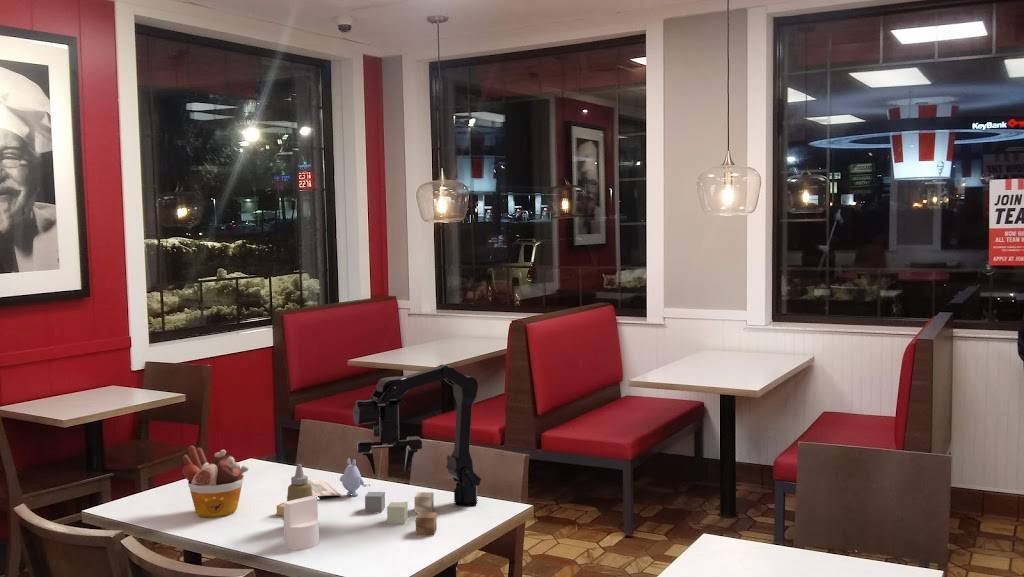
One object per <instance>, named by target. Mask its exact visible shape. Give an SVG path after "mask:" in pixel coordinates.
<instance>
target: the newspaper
mask: <svg viewBox="0 0 1024 577" xmlns="http://www.w3.org/2000/svg"><path fill="white" fill-rule="evenodd" d="M325 481H326V480H324V479H317V480H314V479H313V480H312V479H311V480H309V479H308V483H309V484H310V485H311V488H312V496H319V497H331V496H332V497H340V496H342V497H343V495H342V494H341V493H340V492H338V491H337V490H336V489H335V488H334V487H333V486H332V485H331V484H330V483H329V482H328V483H329V484H330V485H331V486H332V487H333V488H332V487H331V486H330V485H329V484H328V483H326V482H325ZM317 501H319V500H318V499H317Z"/></svg>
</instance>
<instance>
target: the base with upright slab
mask: <svg viewBox="0 0 1024 577" xmlns="http://www.w3.org/2000/svg"><path fill="white" fill-rule="evenodd" d="M283 503H284V516H283V541H284V542H283V544H284V545H283V546H284V548H286V549H288V550H293V551H294V550H295V551H299V550H307V549H312V548H315V547H316V546H318V545H319V540H320V538H319V516H318V515H319V512H318V507H319V506H318V500H317V497H315V496H309V497H304V498H300V499H295V500H291V501H287V500H286V501H284V502H283Z"/></svg>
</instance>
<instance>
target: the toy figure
mask: <svg viewBox="0 0 1024 577" xmlns="http://www.w3.org/2000/svg"><path fill="white" fill-rule="evenodd" d="M356 461H357V460H356V459H354V458H353V459H352V461H351V458H350V457H349V458H347V459H346V463H347V466H346V468H345V470H344V472H343V474H342V475H340V478H339V482H341V483H342V486H343V488H344V489H345V490H346V491H347V492H346V495H348V496H353V497H358V496H359V493H358V492H356V491H357V490H358V489H359V488H360V487H361V486H362V487H363V486H364V485H365V481H364V480H363V479H362V475H361V473H360V471H359V469H358V467H357V466H356V464H357V462H356ZM351 494H352V495H351ZM357 495H358V496H357Z"/></svg>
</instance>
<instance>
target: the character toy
mask: <svg viewBox="0 0 1024 577" xmlns="http://www.w3.org/2000/svg"><path fill="white" fill-rule="evenodd" d="M276 515H277V516H282V517H284V502H280V503H279V504H276Z"/></svg>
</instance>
